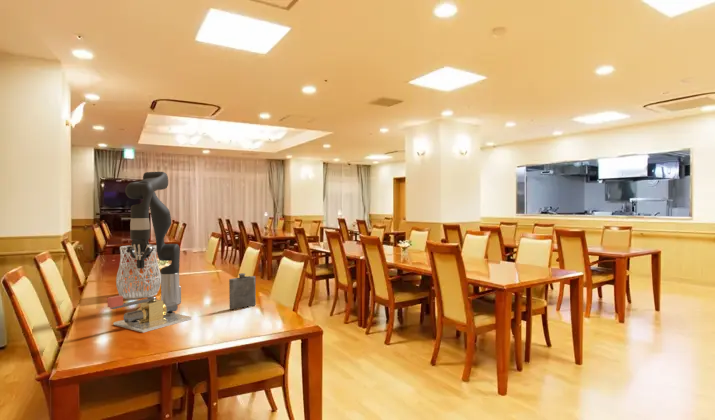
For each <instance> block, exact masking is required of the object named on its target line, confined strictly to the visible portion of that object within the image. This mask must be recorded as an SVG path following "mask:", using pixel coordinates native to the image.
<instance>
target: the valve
mask: <svg viewBox="0 0 715 420" xmlns="http://www.w3.org/2000/svg"><path fill="white" fill-rule="evenodd" d="M177 311H178V304H177V303H176V302H172V303H168V304H164V303H163V301H162V300H161V299H157V298H156V301H151V302H144V303H140V304H139V307H138V308H137V309H136V310H133V311H130V312H129V311H128V312H125V313H124V314H123V320H117V321H114V322H113V326H116V327H119V328H120V327H121V328H125V329H128V330H132V331H135V332H140V333H147V332H150V331H153V330H154V331H155V330H157V329H161V328H165V327H169V326H173V325H175V324H179V323H182V322H186V321H189V320H192V316H190V315H184V314H179V313H176V312H177Z"/></svg>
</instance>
